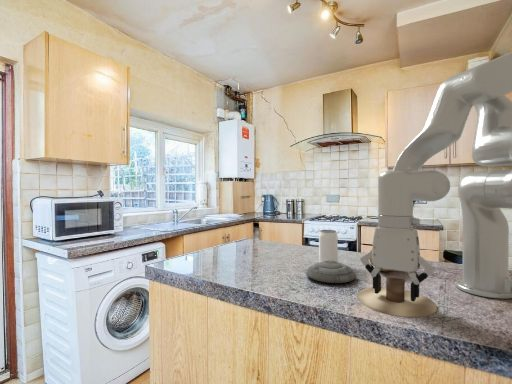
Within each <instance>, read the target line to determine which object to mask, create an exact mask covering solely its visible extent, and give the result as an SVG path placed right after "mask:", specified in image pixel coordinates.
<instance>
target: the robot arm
mask: <svg viewBox="0 0 512 384" xmlns="http://www.w3.org/2000/svg"><path fill="white" fill-rule="evenodd" d="M435 93H436V94H435V95H434V96H435V97H434V99H433V102H432V105H431V107H430V110H429V112H428V115H427V118H426V120H425V122H424V125H423V128H422V129H421V131H420V132H419V133H418V134H417V135H416V136H415V137H414V138H413V139H412V140H411V141H410V143H409V144H407V146H406V147H405V148H404V150H403V151H402V152H401V153H400V155H399V156H398V157H397V160H396V162H395V164H394V167H393V170H389V171H382V172H380V174H379V175H378V180H377V181H378V184H377V185H378V186H377V188H378V189H377V192H378V193H377V194H378V195H377V196H378V197H377V198H378V201H377V205H378V209H377V212H378V213H377V214H378V215H377V216H378V217H377V219H378V220H377V221H378V222H377V224H378V225H377V226H375V228H374V235H373V240H372V248H371V250H372V251H371V250H370V251H371V252H370V251H369V252H368V253H366V254H364V255H363V256H362V257H360V262H361V263H362V265H363V266H364V267H365V269H366V270H367V272H368V273H369V274H370V276H371V277H372V287H373V289H375V293H376V294H378V293H379V292H380V291H381V287H382V276H381V273H380V272H381V271H382V270H381V269H388V270H390V271H395V272H400V273H407V274H408V276H409V278H410V279H411V284H410V291H411V300H412V301H413V302H414V301H415V300H416V297H418V298H419V294H420V283H422V282H423V281H425V280H426V279H427V278H428V277H429V276H431V274H433V273H434V272H435V270H436V268H435V266H434V265H432V264H431V263H430V262H429V261H427V260H426V259H425V258H424V257H422V256H421V247H420V240H419V232H418V229H417V228H414V226H419V225H421V219H420V218H416V217H415V216H414V201H416V202H417V201H418V202H436V201H440V200H442V199H444V198H445V197H446V196H447V195H448V194H449V192H450V189H451V182H450V180H449V177H447V175H446V174H444V173H443V172H441V171H440V170H439V171H438V170H434V169H427V170H426V169H425V170H424V169H423V170H421V169H422V168H423V166H424V165H425V164H426V163H427V161H429V160H430V159H431V158H432V157H434V156H435V155H437V154H438V153H441V151H444V150H445V149H448V148H449V147H451V146H453V144H455V143H456V142H458V141H459V140H460V138H461V137H462V135H463V132H464V129H465V126H466V124H467V120H468V119H469V115H470V112H471V110H472V108H473V107H474V109H475V112H476V116H477V117H476V125H475V131H474V137H473V143H472V149H471V158H472V161H473V162H474V164H476V165H478V166H479V167H480V166H481V167H489V168H490V167H505V166H512V99H510V98H509V97H507V95H508V94H510V93H512V51H510V52H508V53H505V54H503V55H500V56H499V57H496V58H493V59H491V60H488V61H486V62H484V63H481V64H478V65H475V66H473V67H471V68H469V69H466V70H463V71H461V72H459V73H457V74H454V75H451V76H450V77H448V78H447V79H445V80H444V81H442V82H441V83H440V85H439V87H438V89H437V91H436V92H435ZM457 191H458V193H457V194H458V197H459V201H460V206H461V212H462V213H461V214H462V278H461V279H457V280H456V281H455V287H456V288H457V289H459V290H461V291H463V292H466V293H469V294H470V295H475V296H479V297H485V298H491V299H500V300H501V299H504V300H505V299H512V278H511V276H510V273H509V252H510V250H509V243H510V241H509V239H510V235H509V230H510V229H509V223H508V220H507V218H506V216H505V214H504V212H503V211H502V209H508V210H509V209H511V210H512V168H511V169H494V170H493V169H492V170H478V171H474V172H470V173H468V174H466V175H464V176H463V177H462V178H461V179H460V181H459V182H458V188H457ZM371 257H372V264H373V265H374V266H373V265H372V264H371V262H370V260H369V258H371ZM421 267H423V268H424V269H425V270H424V271H423V272H421V273H420V274H419V273H418V269H420V268H421Z"/></svg>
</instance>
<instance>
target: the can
mask: <svg viewBox="0 0 512 384" xmlns="http://www.w3.org/2000/svg"><path fill="white" fill-rule="evenodd" d="M338 238H339V237H338V233H337V231H336V230H333V229H321V230H320V231H319V235H318V262H323V261H328V260H331V261H336V262H338V263H339V257H338V256H339V254H338V252H339V251H338V250H339V249H338V248H339V247H338V246H339V244H338Z"/></svg>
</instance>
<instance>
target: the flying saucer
mask: <svg viewBox="0 0 512 384" xmlns="http://www.w3.org/2000/svg"><path fill="white" fill-rule="evenodd" d="M305 275H306V276H307V277H308V278H310V279H312V280H315V281H317V282H322V283H329V284H343V283H347V282H351V281H354V280H355V279H356V278H357V274H356V272H355V271H354V270H353V269H352V268H351V267H350V266H348V265H346V264H345V263H342V262H339V261H338V262H336V261H331V260H328V261H323V262H319V261H318V262H316V263H313V264H312V265H310V266H309V267H308V268H307V269H306V271H305Z"/></svg>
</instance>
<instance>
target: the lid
mask: <svg viewBox="0 0 512 384" xmlns="http://www.w3.org/2000/svg"><path fill="white" fill-rule="evenodd" d="M385 278H386V280H385V284H386V287H385V286H384V287H383V286H381V291H380V292H379V293H378V294H376V293H375V289H373V286H372V287H366V288H364V289H361V290H360V291H359V292H358V293H357V300H358V301H359V302H360V303H361V304H362V305H363V306H365V307H367V308H369V309H372V310H374V311H376V312H379V313H382V314H386V315H391V316H395V317H403V318H404V317H405V318H422V317H424V318H425V317H429V316H431V315H433V314H435V313H436V312H437V311H438V310H437V304H436V303H435V301H434V300H432V299H430V298H428V297H427V296H425V295H422V294H420V293H419V298H418V297H416V300H415V301H414V302H413V301H412V300H411V290H406V289H405V286H406V285H405V284H406V282H405V278H404V277H400V276H393V275H392V276H391V275H390V276H387V277H385Z"/></svg>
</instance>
